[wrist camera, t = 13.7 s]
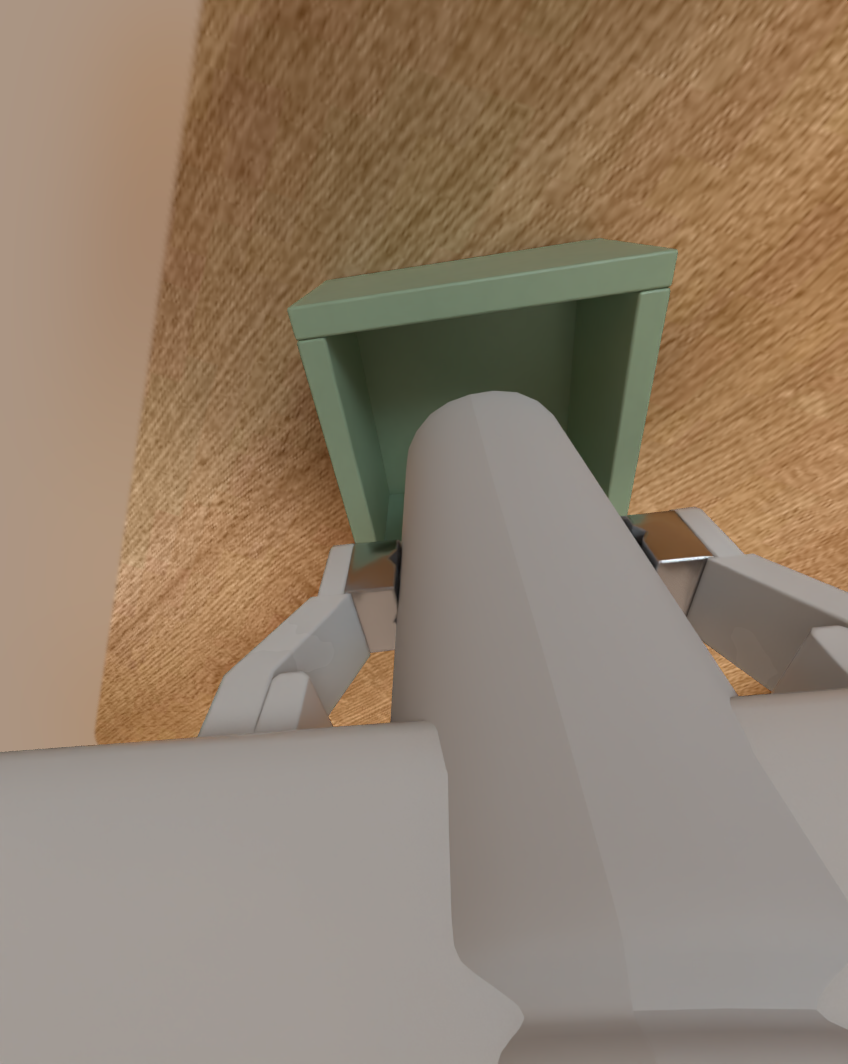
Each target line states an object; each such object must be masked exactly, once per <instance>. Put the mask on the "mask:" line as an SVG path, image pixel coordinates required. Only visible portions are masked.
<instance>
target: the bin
mask: <svg viewBox="0 0 848 1064" xmlns="http://www.w3.org/2000/svg"><path fill="white" fill-rule="evenodd" d="M677 254H678V250H677V249H672V248H665V247H658V246H651V245H643V244H636V243H629V242H622V241H615V240H607V239H602V238H598V239H591V240H585V241H578V242H572V243H565V244H559V245H552V246H546V247H539V248H533V249H526V250H520V251H513V252H507V253H500V254H494V255H487V256H481V257H474V258H468V259H461V260H455V261H448V262H442V263H435V264H429V265H422V266H416V267H410V268H403V269H397V270H390V271H384V272H377V273H371V274H364V275H358V276H351V277H345V278H338V279H332V280H326V281H325V282H323V283H322V284H321V285H320V286H318V287H317V288H315V289H314V290H313V291H311V292H310V293H308V294H307V295H305V296H304V297H303V298H301V299H300V300H298V301H297V302H296V303H294V304H293V305H291V306H290V307H289V308H288V309H287V312H288V315H289V318H290V322H291V325H292V329H293V332H294V336H295V338H296V340H299V341H298V342H297V346H298V349H299V353H300V356H301V359H302V363H303V366H304V370H305V373H306V377H307V380H308V383H309V387H310V390H311V394H312V397H313V401H314V404H315V407H316V411H317V414H318V418H319V421H320V425H321V428H322V431H323V435H324V438H325V442H326V445H327V449H328V452H329V455H330V459H331V462H332V466H333V469H334V473H335V476H336V479H337V483H338V486H339V490H340V493H341V497H342V500H343V503H344V507H345V510H346V514H347V517H348V521H349V524H350V527H351V531H352V534H353V538H354V541H355V543H363V542H375V541H387V540H398V539H399V541H400V543H401V542H402V526H403V510H404V494H405V479H406V465H407V457H408V449H409V447H410V445H411V442H412V440H413V438H414V436H415V433H416V431H417V430H418V429H419V427H420V426H421V425H422V424H423V423H424V421H425V420H426V419H427V418H428V416H429V415H430V414H431V413H433V412H434V411H436V410H437V409H439V408H440V407H442V406H443V405H445V404H446V403H448V402H450V401H453V400H456V399H459V398H461V397H464V396H467V395H470V394H476V393H482V392H488V391H505V392H517V393H520V394H522V395H525V396H527V397H529V398H532V399H534V400H536V401H538V402H539V403H540V404H542V405H543V406H544V407H545V408H546V409H547V410H548V411H550V412H551V413H552V414H553V415H554V417H555V418H556V420H557V421H558V423H559V424H560V426H561V427H562V429H563V430H564V432H565V433H566V435H567V436H568V438H569V439H570V441H571V442H572V444H573V445H574V447H575V449H576V450H577V452H578V453H579V455H580V456H581V458H582V459H583V461H584V462H585V464H586V465H587V467H588V468H589V470H590V471H591V473H592V474H593V476H594V477H595V479H596V480H597V482H598V484H599V485H600V487H601V488H602V490H603V491H604V493H605V494H606V496H607V497H608V499H609V500H610V502H611V503H612V505H613V506H614V508H615V509H616V511H617V512H618V514H619V515H620V517H621V516H627V514H628V508H629V503H630V498H631V493H632V488H633V483H634V477H635V472H636V467H637V462H638V457H639V451H640V446H641V441H642V436H643V431H644V425H645V420H646V415H647V410H648V405H649V399H650V394H651V389H652V384H653V379H654V373H655V368H656V363H657V358H658V353H659V347H660V342H661V337H662V332H663V327H664V321H665V316H666V311H667V306H668V301H669V296H670V288H668V287H669V286H671V284H672V280H673V275H674V270H675V265H676V260H677Z"/></svg>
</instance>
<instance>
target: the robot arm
mask: <svg viewBox="0 0 848 1064" xmlns="http://www.w3.org/2000/svg"><path fill="white" fill-rule="evenodd" d="M621 518H622V520H623V522H624V523H625V525H626V526H627V528H628V529H629V531H630V532H631V534H632V535H633V537H634V538H635V540H636V541H637V543H638V544H639V546H640V547H641V549H642V550H643V552H644V553H645V555H646V556H647V558H648V560H649V561H650V563H651V564H652V566H653V567H654V569H655V570H656V572H657V573H658V575H659V576H660V578H661V579H662V581H663V582H664V584H665V585H666V587H667V588H668V590H669V591H670V593H671V594H672V596H673V598H674V599H675V601H676V602H677V604H678V605H679V607H680V608H681V610H682V611H683V613H684V614H685V616H686V617H687V619H688V620H689V622H690V623H691V625H692V626H693V628H694V629H695V631H696V633H697V634H698V636H699V637H700V639H701V640H702V641H703V642H704V643H706V644H707V645H708V646H710V647H711V648H712V649H714V650H715V651H717V652H718V653H719V654H721V655H722V656H723V657H725V658H726V659H728V660H729V661H730V662H732V663H733V664H734V665H736V666H737V667H739V668H740V669H741V670H743V671H744V672H745V673H747V674H748V675H750V676H751V677H752V678H754V679H755V680H756V681H758V682H759V683H761V684H762V685H763V686H765V687H766V688H767V689H769V690H770V691H772V692H771V694H762V695H749V696H736V697H730V705H731V708H732V710H733V712H734V714H735V715H736V717H737V719H738V721H739V723H740V725H741V727H742V729H743V731H744V732H745V734H746V736H747V738H748V740H749V743H750V745H751V748H752V751H753V753H754V755H755V756H756V758H757V760H758V761H759V763H760V764H761V766H762V767H763V769H764V771H765V772H766V774H767V775H768V777H769V778H770V780H771V781H772V783H773V785H774V786H775V788H776V789H777V791H778V792H779V794H780V796H781V797H782V799H783V800H784V802H785V803H786V805H787V807H788V808H789V810H790V811H791V813H792V814H793V816H794V817H795V819H796V821H797V822H798V824H799V825H800V827H801V828H802V830H803V832H804V833H805V835H806V836H807V838H808V839H809V841H810V843H811V844H812V846H813V847H814V849H815V850H816V852H817V854H818V855H819V857H820V858H821V860H822V861H823V863H824V864H825V866H826V868H827V869H828V871H829V872H830V874H831V875H832V877H833V879H834V880H835V882H836V883H837V885H838V886H839V888H840V890H841V891H842V893H843V894H844V896H845V897H846V899H847V901H848V592H846V591H843V590H841V589H838V588H836V587H833V586H831V585H829V584H826V583H824V582H821V581H819V580H816V579H814V578H811V577H809V576H806V575H804V574H802V573H799V572H797V571H794V570H792V569H789V568H787V567H784V566H782V565H780V564H777V563H775V562H772V561H770V560H767V559H765V558H762V557H760V556H758V555H755V554H744V553H743V552H742V551H741V550H740V549H739V548H738V547H737V546H736V545H735V544H734V543H733V542H732V540H731V539H730V538H729V537H728V536H727V535H726V534H725V533H724V532H723V531H722V530H721V529H720V528H719V527H718V526H717V525H716V524H715V523H714V522H713V521H712V520H711V519H710V518H709V517H708V516H707V515H706V514H705V513H704V512H703V510H702V509H700V508H697V507H688V508H681V509H673V510H669V511H663V512H654V513H645V514H636V515H627V516H621ZM401 551H402V547H401V543H400V541H399V539H398V540H387V541H375V542H363V543H355V544H343V545H334V546H333V547H332V548H331V549H330V552H329V555H328V559H327V563H326V566H325V570H324V574H323V577H322V581H321V585H320V588H319V592H318V595H317V597H310V598H309V599H308V600H307V601H306V602H305V603H304V604H303V605H302V606H300V607H299V608H298V609H297V610H296V611H295V612H294V613H293V614H292V615H290V616H289V617H288V618H287V619H286V620H285V621H284V622H283V623H282V624H280V625H279V626H278V627H277V628H276V629H275V630H274V631H273V632H272V633H270V634H269V635H268V636H267V637H266V638H265V639H264V640H263V641H262V642H260V643H259V644H258V645H257V646H256V647H255V648H254V649H253V650H252V651H250V652H249V653H248V654H247V655H246V656H245V657H244V658H243V659H242V660H240V661H239V662H238V663H237V664H236V665H235V666H234V667H233V668H232V669H230V670H229V671H228V672H227V673H226V674H225V675H224V676H223V678H222V681H221V683H220V685H219V688H218V690H217V692H216V695H215V697H214V699H213V702H212V704H211V706H210V708H209V711H208V713H207V715H206V718H205V720H204V722H203V725H202V727H201V729H200V732H199V734H198V736H197V737H194V738H180V739H167V740H154V741H141V742H128V743H114V744H101V745H88V746H75V747H61V748H49V749H35V750H23V751H9V752H0V1064H498V1061H499V1057H500V1054H501V1052H502V1050H503V1049H504V1048H505V1047H506V1045H507V1044H508V1042H509V1041H510V1039H511V1038H512V1037H513V1036H514V1035H515V1033H516V1032H517V1031H518V1030H519V1028H520V1027H521V1024H522V1022H523V1020H524V1016H523V1014H522V1012H521V1010H520V1008H519V1006H518V1005H517V1004H516V1003H514V1002H513V1001H512V1000H511V999H509V998H508V997H507V996H505V995H504V994H503V993H501V992H500V991H499V990H498V989H496V988H495V987H493V986H492V985H491V984H489V983H488V982H486V981H485V980H484V979H482V978H481V977H479V976H478V975H476V974H475V973H474V972H473V971H471V970H470V969H469V968H468V967H467V966H466V965H465V964H463V963H462V962H461V960H460V958H459V956H458V954H457V952H456V949H455V947H454V940H453V928H452V917H451V884H450V851H449V809H448V773H447V770H446V766H445V762H444V758H443V753H442V749H441V745H440V740H439V736H438V732H437V729H436V727H435V725H434V724H433V723H431V722H430V721H426V720H418V721H405V722H392V723H379V724H365V725H352V726H339V727H333V725H332V723H331V721H330V719H329V717H328V716H329V714H330V713H331V711H332V710H333V708H334V707H335V706H336V704H337V703H338V701H339V700H340V698H341V697H342V695H343V694H344V693H345V691H346V690H347V688H348V687H349V685H350V684H351V682H352V681H353V680H354V678H355V677H356V675H357V674H358V672H359V671H360V669H361V668H362V667H363V665H364V664H365V662H366V661H367V659H368V658H369V656H370V653H373V652H382V651H390V650H395V640H396V624H397V611H398V602H399V585H400V580H399V576H400V567H401ZM816 1010H817V1011H818V1012H820V1013H821V1014H822V1015H823V1016H824V1017H825V1018H826V1019H827V1020H828V1021H830V1022H832V1023H835V1024H837V1025H839V1026H841V1027H843V1028H845V1029H847V1030H848V964H847V965H846V966H845V967H844V968H843V969H842V970H841V971H840V972H839V973H838V974H837V975H836V976H835V977H834V978H833V979H832V980H831V982H830V983H829V984H828V985H827V986H826V988H825V989H824V990H823V991H822V993H821V994H820V995H819V996H818V1002H817V1009H816Z"/></svg>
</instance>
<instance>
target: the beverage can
mask: <svg viewBox="0 0 848 1064" xmlns="http://www.w3.org/2000/svg"><path fill="white" fill-rule="evenodd" d="M401 547H402V551H401V567H400V576H399V580H400V585H399V602H398V611H397V624H396V640H395V657H394V673H393V690H392V706H391V722H390V723H392V722H405V721H418V720H426V721H430V722H431V723H433V724H434V725H435V727H436V729H437V732H438V736H439V740H440V745H441V749H442V753H443V758H444V762H445V766H446V770H447V773H448V809H449V851H450V884H451V917H452V928H453V940H454V947H455V949H456V952H457V954H458V956H459V958H460V960H461V962H462V963H463V964H465V965H466V966H467V967H468V968H469V969H470V970H471V971H473V972H474V973H475V974H476V975H478V976H479V977H481V978H482V979H484V980H485V981H486V982H488V983H489V984H491V985H492V986H493V987H495V988H496V989H498V990H499V991H500V992H501V993H503V994H504V995H505V996H507V997H508V998H509V999H511V1000H512V1001H513V1002H514V1003H516V1004H517V1005H518V1006H519V1008H520V1010H521V1012H522V1014H523V1016H524V1020H523V1022H522V1024H521V1027H520V1028H519V1030H518V1031H517V1032H516V1033H515V1035H514V1036H513V1037H512V1038H511V1039H510V1041H509V1042H508V1044H507V1045H506V1047H505V1048H504V1049H503V1050H502V1052H501V1054H500V1057H499V1061H498V1064H848V1030H847V1029H845V1028H843V1027H841V1026H839V1025H837V1024H835V1023H832V1022H830V1021H828V1020H827V1019H826V1018H825V1017H824V1016H823V1015H822V1014H821V1013H820V1012H818V1011H817V1010H816V1009H817V1002H818V996H819V995H820V994H821V993H822V991H823V990H824V989H825V988H826V986H827V985H828V984H829V983H830V982H831V980H832V979H833V978H834V977H835V976H836V975H837V974H838V973H839V972H840V971H841V970H842V969H843V968H844V967H845V966H846V965H847V964H848V901H847V899H846V897H845V896H844V894H843V893H842V891H841V890H840V888H839V886H838V885H837V883H836V882H835V880H834V879H833V877H832V875H831V874H830V872H829V871H828V869H827V868H826V866H825V864H824V863H823V861H822V860H821V858H820V857H819V855H818V854H817V852H816V850H815V849H814V847H813V846H812V844H811V843H810V841H809V839H808V838H807V836H806V835H805V833H804V832H803V830H802V828H801V827H800V825H799V824H798V822H797V821H796V819H795V817H794V816H793V814H792V813H791V811H790V810H789V808H788V807H787V805H786V803H785V802H784V800H783V799H782V797H781V796H780V794H779V792H778V791H777V789H776V788H775V786H774V785H773V783H772V781H771V780H770V778H769V777H768V775H767V774H766V772H765V771H764V769H763V767H762V766H761V764H760V763H759V761H758V760H757V758H756V756H755V755H754V753H753V751H752V748H751V745H750V743H749V740H748V738H747V736H746V734H745V732H744V731H743V729H742V727H741V725H740V723H739V721H738V719H737V717H736V715H735V714H734V712H733V710H732V708H731V705H730V697H736V696H738V695H737V693H736V692H735V690H734V689H733V687H732V686H731V684H730V683H729V681H728V680H727V678H726V677H725V675H724V674H723V672H722V671H721V669H720V667H719V666H718V664H717V663H716V661H715V660H714V658H713V657H712V655H711V654H710V652H709V651H708V649H707V648H706V646H705V645H704V643H703V642H702V640H701V639H700V637H699V636H698V634H697V633H696V631H695V629H694V628H693V626H692V625H691V623H690V622H689V620H688V619H687V617H686V616H685V614H684V613H683V611H682V610H681V608H680V607H679V605H678V604H677V602H676V601H675V599H674V598H673V596H672V594H671V593H670V591H669V590H668V588H667V587H666V585H665V584H664V582H663V581H662V579H661V578H660V576H659V575H658V573H657V572H656V570H655V569H654V567H653V566H652V564H651V563H650V561H649V560H648V558H647V556H646V555H645V553H644V552H643V550H642V549H641V547H640V546H639V544H638V543H637V541H636V540H635V538H634V537H633V535H632V534H631V532H630V531H629V529H628V528H627V526H626V525H625V523H624V522H623V520H622V518H621V517H620V515H619V514H618V512H617V511H616V509H615V508H614V506H613V505H612V503H611V502H610V500H609V499H608V497H607V496H606V494H605V493H604V491H603V490H602V488H601V487H600V485H599V484H598V482H597V480H596V479H595V477H594V476H593V474H592V473H591V471H590V470H589V468H588V467H587V465H586V464H585V462H584V461H583V459H582V458H581V456H580V455H579V453H578V452H577V450H576V449H575V447H574V445H573V444H572V442H571V441H570V439H569V438H568V436H567V435H566V433H565V432H564V430H563V429H562V427H561V426H560V424H559V423H558V421H557V420H556V418H555V417H554V415H553V414H552V413H551V412H550V411H548V410H547V409H546V408H545V407H544V406H543V405H542V404H540V403H539V402H538V401H536V400H534V399H532V398H529V397H527V396H525V395H522V394H520V393H517V392H505V391H488V392H482V393H476V394H470V395H467V396H464V397H461V398H459V399H456V400H453V401H450V402H448V403H446V404H445V405H443V406H442V407H440V408H439V409H437V410H436V411H434V412H433V413H431V414H430V415H429V416H428V418H427V419H426V420H425V421H424V423H423V424H422V425H421V426H420V427H419V429H418V430H417V431H416V433H415V436H414V438H413V440H412V442H411V445H410V447H409V449H408V457H407V465H406V479H405V494H404V510H403V526H402V542H401Z"/></svg>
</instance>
